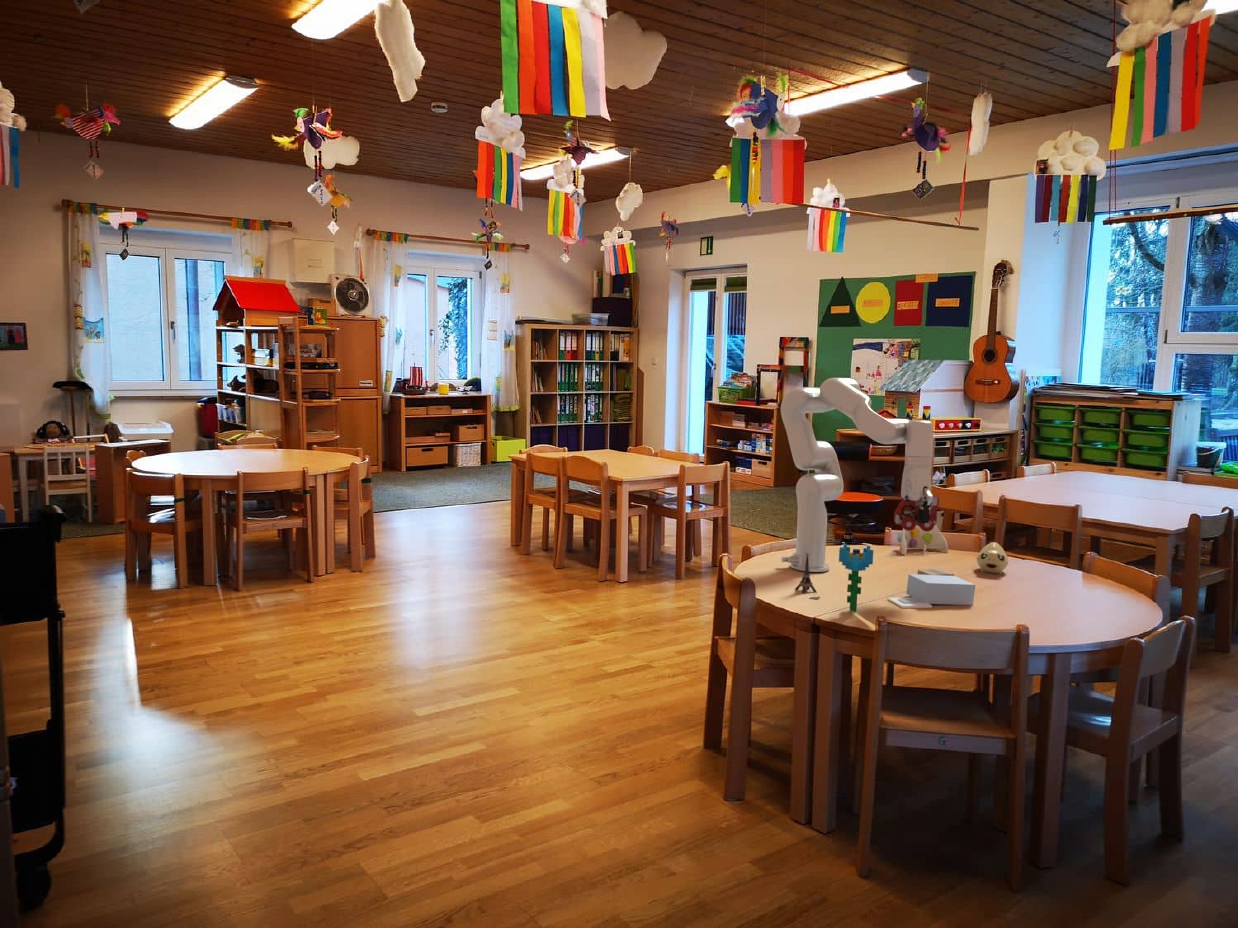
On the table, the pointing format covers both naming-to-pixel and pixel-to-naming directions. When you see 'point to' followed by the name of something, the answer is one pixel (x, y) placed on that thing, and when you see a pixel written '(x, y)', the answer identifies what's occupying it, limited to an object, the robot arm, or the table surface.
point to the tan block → (934, 572)
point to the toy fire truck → (908, 519)
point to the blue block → (940, 589)
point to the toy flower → (855, 570)
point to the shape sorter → (922, 540)
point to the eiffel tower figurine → (806, 580)
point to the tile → (909, 603)
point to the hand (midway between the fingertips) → (915, 520)
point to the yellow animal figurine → (992, 558)
